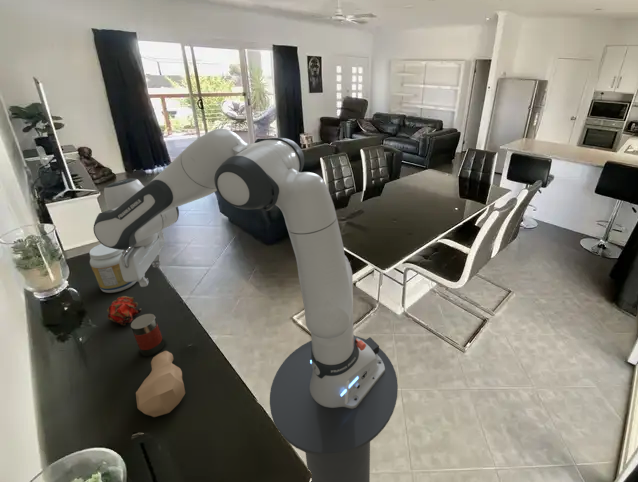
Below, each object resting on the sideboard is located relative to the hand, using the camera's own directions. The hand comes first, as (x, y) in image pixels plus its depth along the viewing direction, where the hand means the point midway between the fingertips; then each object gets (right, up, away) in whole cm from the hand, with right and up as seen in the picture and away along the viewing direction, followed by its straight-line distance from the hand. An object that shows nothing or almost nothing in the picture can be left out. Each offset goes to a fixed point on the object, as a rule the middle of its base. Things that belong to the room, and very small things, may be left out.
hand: (151, 275), depth 96 cm
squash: (+9, -29, -8) cm, 32 cm away
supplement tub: (-34, -11, +32) cm, 48 cm away
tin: (-2, -24, +4) cm, 24 cm away
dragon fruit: (-19, -19, +15) cm, 31 cm away
